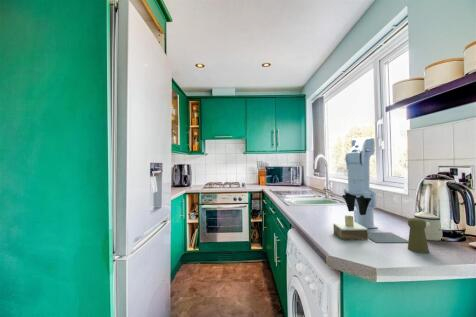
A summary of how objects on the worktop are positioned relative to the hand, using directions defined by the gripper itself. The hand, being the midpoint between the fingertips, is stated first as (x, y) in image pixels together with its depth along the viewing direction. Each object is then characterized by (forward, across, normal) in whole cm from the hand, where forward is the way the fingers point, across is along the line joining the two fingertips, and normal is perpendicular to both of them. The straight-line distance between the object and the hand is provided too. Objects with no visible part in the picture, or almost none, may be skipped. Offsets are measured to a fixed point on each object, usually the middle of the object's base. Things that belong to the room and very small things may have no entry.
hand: (356, 212), depth 98 cm
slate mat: (+10, +2, +10) cm, 15 cm away
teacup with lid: (+11, +6, +27) cm, 30 cm away
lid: (+7, -2, -2) cm, 8 cm away
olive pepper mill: (+10, +16, +12) cm, 23 cm away
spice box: (+10, -2, -2) cm, 11 cm away
